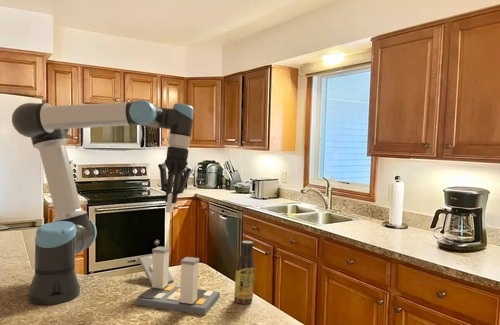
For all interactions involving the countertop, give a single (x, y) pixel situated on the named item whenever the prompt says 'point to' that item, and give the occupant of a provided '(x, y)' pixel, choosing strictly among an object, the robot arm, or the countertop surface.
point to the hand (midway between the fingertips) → (169, 212)
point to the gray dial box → (147, 267)
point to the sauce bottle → (245, 274)
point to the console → (177, 300)
